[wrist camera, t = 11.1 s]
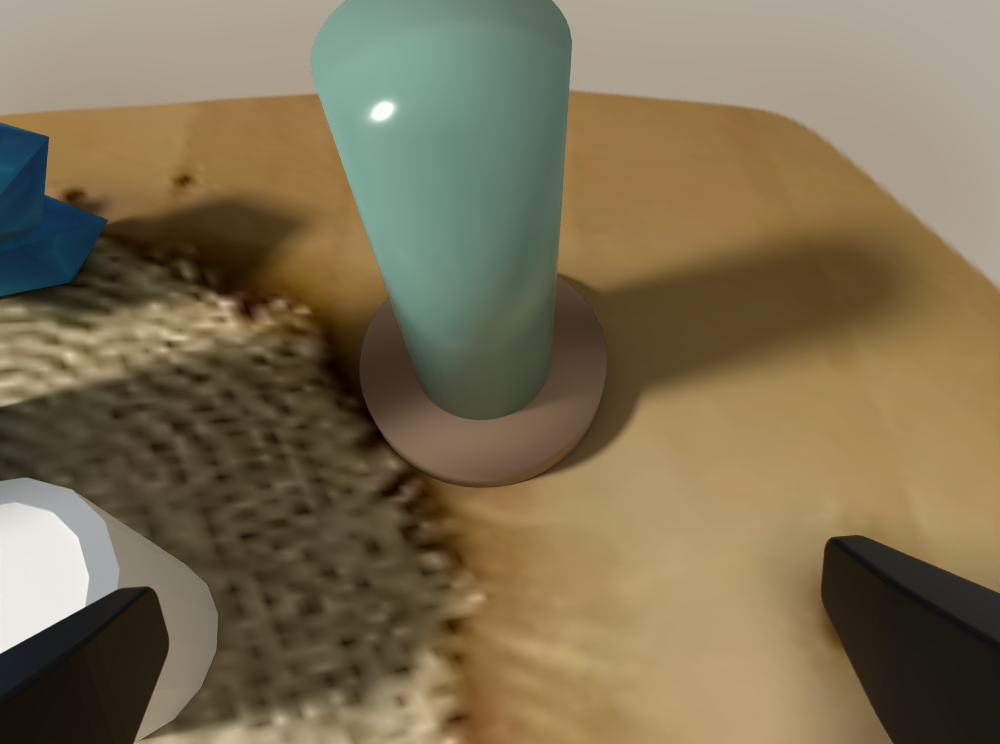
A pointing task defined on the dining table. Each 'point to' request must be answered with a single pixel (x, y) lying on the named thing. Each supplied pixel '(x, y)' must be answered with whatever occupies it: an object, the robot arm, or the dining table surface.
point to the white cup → (98, 582)
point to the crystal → (37, 219)
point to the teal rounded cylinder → (457, 180)
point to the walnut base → (497, 442)
